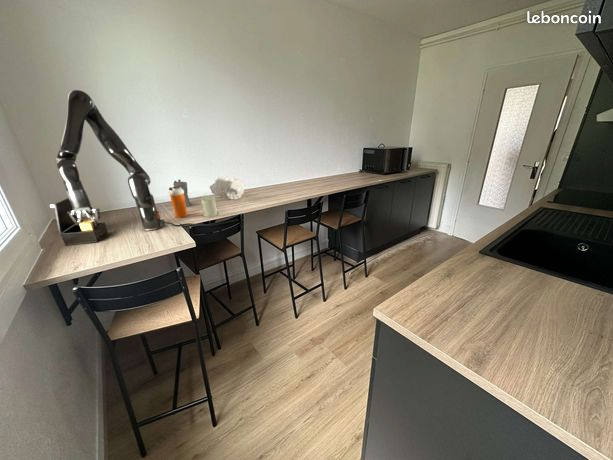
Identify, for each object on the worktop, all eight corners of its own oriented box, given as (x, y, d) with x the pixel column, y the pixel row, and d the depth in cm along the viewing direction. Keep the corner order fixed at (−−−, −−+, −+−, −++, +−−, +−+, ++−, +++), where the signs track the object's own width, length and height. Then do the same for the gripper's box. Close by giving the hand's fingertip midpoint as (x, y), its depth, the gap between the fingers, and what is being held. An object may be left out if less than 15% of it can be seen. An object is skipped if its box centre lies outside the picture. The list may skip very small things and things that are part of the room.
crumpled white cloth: (223, 199, 218) (244, 202, 206) (206, 195, 203) (228, 198, 191) (227, 178, 218) (248, 180, 206) (210, 173, 203) (232, 174, 191)
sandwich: (98, 225, 139) (95, 219, 138) (92, 230, 134) (90, 223, 132) (88, 226, 138) (85, 220, 137) (81, 231, 133) (79, 224, 131)
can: (200, 214, 172) (197, 197, 167) (213, 211, 178) (210, 195, 173) (207, 218, 166) (204, 200, 161) (220, 214, 172) (217, 197, 167)
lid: (71, 197, 134) (60, 196, 132) (55, 204, 122) (43, 203, 121) (75, 224, 139) (64, 223, 138) (60, 233, 128) (49, 232, 126)
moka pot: (184, 208, 183) (178, 181, 175) (172, 205, 191) (165, 179, 183) (195, 205, 191) (190, 179, 183) (183, 202, 198) (177, 177, 190)
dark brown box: (108, 233, 145) (104, 222, 142) (97, 242, 134) (93, 231, 131) (79, 235, 142) (74, 224, 139) (65, 245, 131) (60, 234, 128)
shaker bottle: (191, 214, 172) (185, 186, 164) (180, 218, 165) (174, 189, 157) (182, 212, 176) (176, 184, 168) (171, 217, 168) (164, 187, 160)
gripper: (57, 200, 124) (70, 231, 131) (90, 198, 127) (101, 229, 134) (66, 196, 131) (78, 226, 138) (98, 194, 134) (108, 224, 141)
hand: (90, 227), depth 136 cm, fingers closed on sandwich, 5 cm apart
